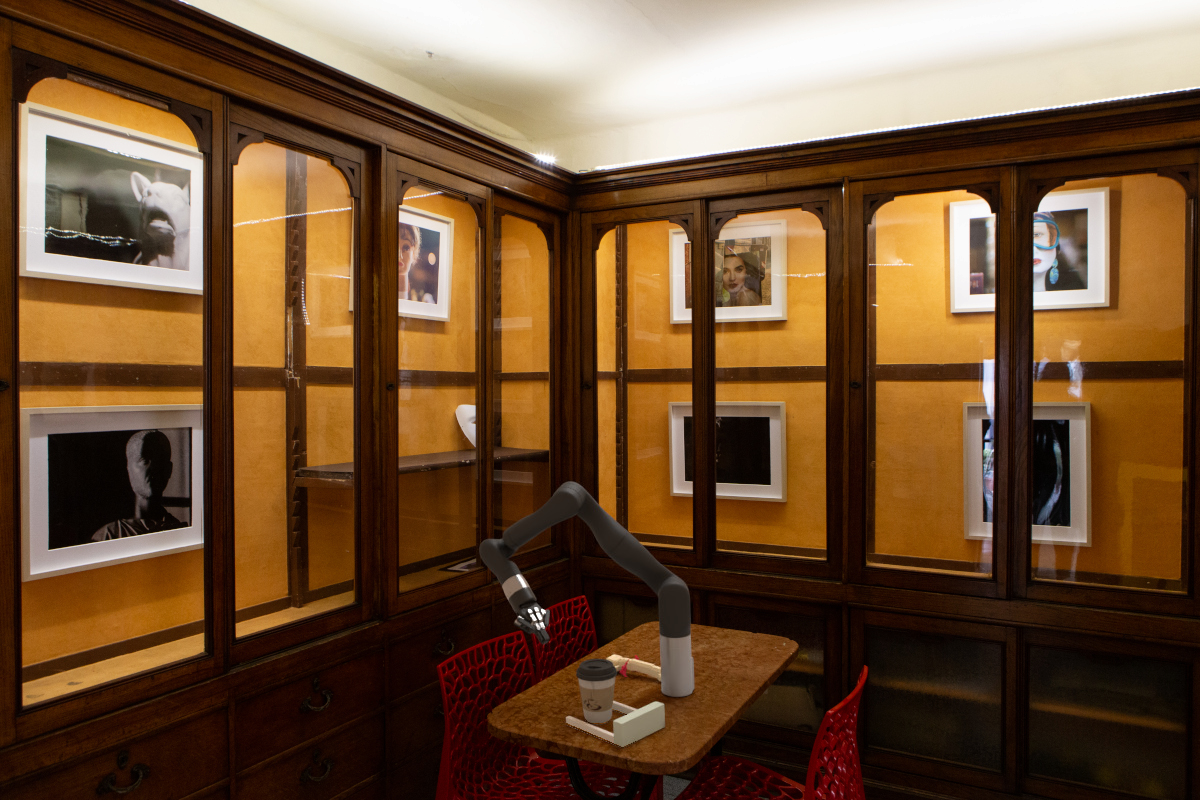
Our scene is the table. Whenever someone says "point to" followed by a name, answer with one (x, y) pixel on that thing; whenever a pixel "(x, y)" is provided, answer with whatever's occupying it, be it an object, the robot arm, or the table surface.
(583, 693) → the coffee cup
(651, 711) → the guide track
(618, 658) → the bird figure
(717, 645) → the table surface
